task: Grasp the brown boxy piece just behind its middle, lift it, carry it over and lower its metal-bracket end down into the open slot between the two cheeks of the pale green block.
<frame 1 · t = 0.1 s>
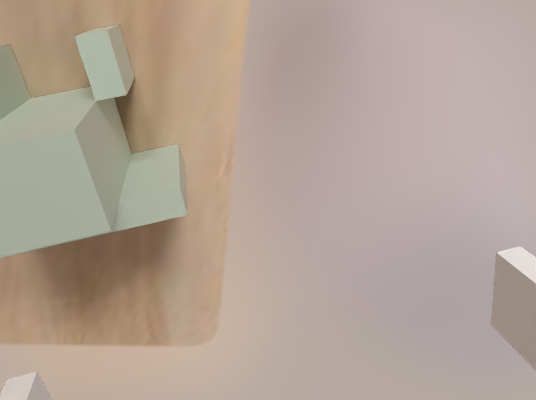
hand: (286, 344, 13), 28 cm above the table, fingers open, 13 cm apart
pale green block: (83, 127, 36), on the table
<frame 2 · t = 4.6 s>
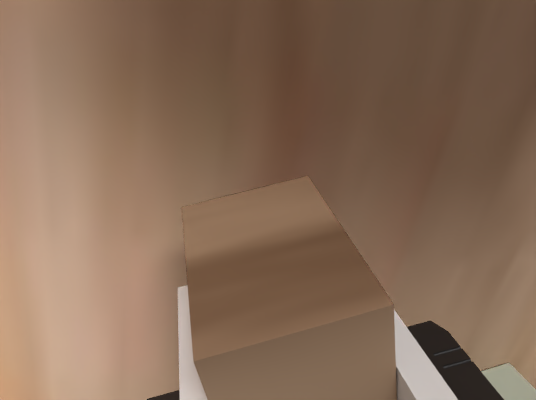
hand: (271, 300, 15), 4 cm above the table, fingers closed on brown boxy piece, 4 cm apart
brown boxy piece: (276, 328, 17), point 3 cm above the table, tilted 6°, touching gripper
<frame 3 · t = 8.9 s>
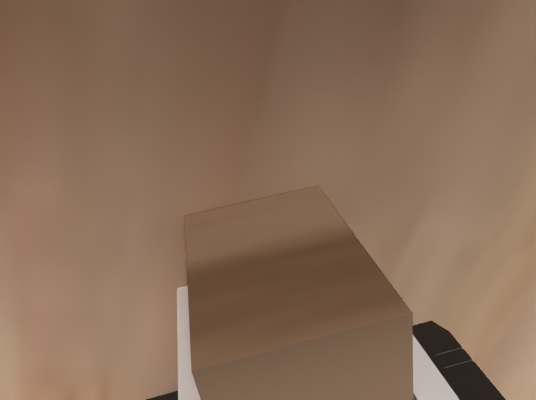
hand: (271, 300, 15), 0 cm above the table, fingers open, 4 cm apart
brown boxy piece: (280, 348, 16), on the table
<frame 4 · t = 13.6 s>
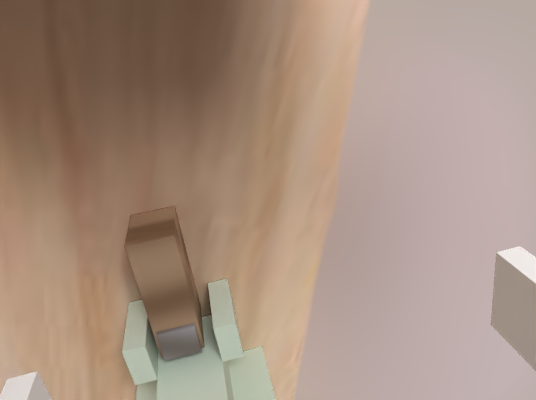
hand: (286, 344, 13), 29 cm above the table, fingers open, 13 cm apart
pale green block: (194, 342, 48), on the table
brown boxy piece: (168, 263, 44), on the table
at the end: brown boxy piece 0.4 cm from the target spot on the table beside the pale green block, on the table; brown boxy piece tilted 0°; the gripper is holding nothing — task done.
